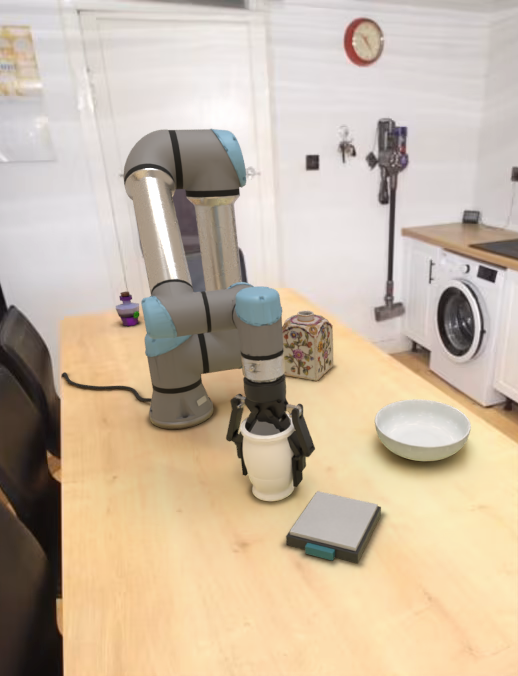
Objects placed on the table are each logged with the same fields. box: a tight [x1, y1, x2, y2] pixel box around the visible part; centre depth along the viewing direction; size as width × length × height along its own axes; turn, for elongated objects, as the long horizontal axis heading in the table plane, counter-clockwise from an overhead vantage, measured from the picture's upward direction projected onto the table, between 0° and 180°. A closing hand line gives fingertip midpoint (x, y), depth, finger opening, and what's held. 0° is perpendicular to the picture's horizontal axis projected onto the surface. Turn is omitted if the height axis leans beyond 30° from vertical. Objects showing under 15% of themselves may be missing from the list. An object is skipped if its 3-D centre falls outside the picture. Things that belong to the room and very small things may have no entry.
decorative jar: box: [282, 310, 334, 382], centre depth 155 cm, size 12×12×18 cm
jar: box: [239, 412, 295, 502], centre depth 104 cm, size 11×10×15 cm
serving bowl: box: [374, 398, 472, 462], centre depth 120 cm, size 21×21×7 cm
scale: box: [285, 490, 382, 564], centre depth 95 cm, size 13×14×3 cm
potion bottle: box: [115, 291, 141, 328], centre depth 196 cm, size 9×9×12 cm
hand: (272, 477), depth 106 cm, fingers closed on jar, 10 cm apart
